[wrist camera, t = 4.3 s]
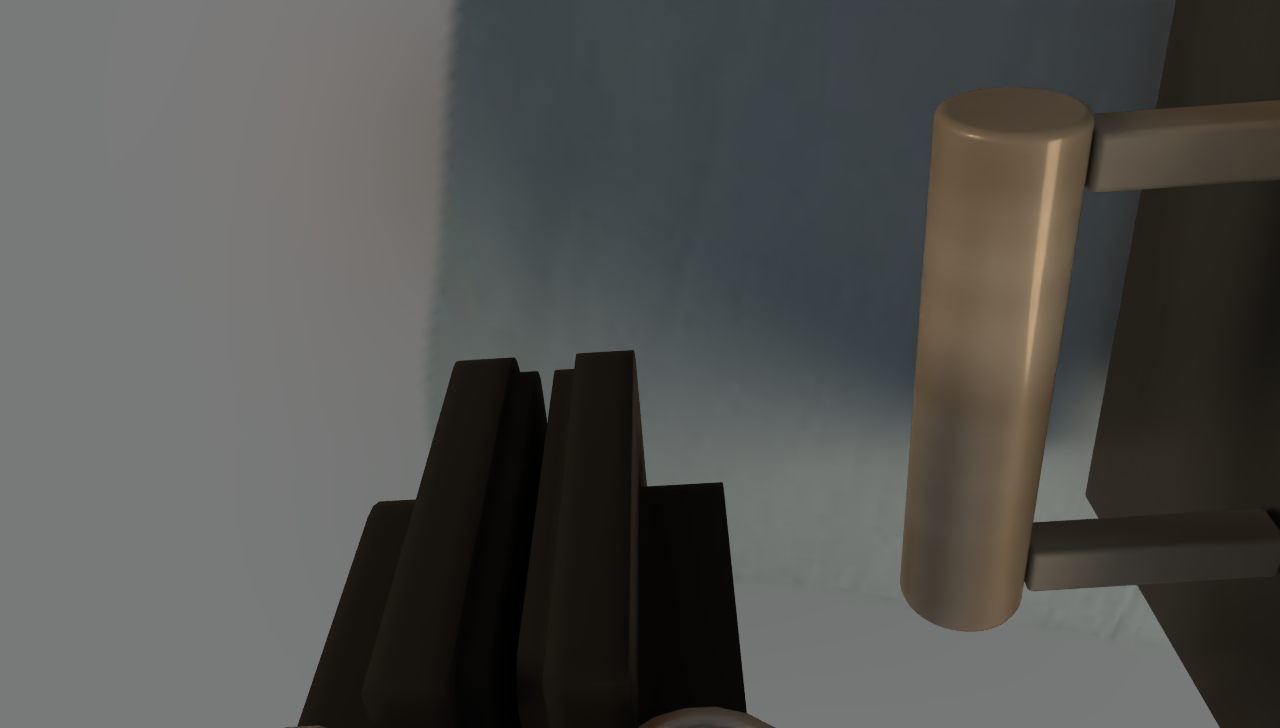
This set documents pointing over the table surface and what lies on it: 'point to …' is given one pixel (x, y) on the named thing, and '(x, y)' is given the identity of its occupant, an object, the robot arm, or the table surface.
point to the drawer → (1113, 357)
